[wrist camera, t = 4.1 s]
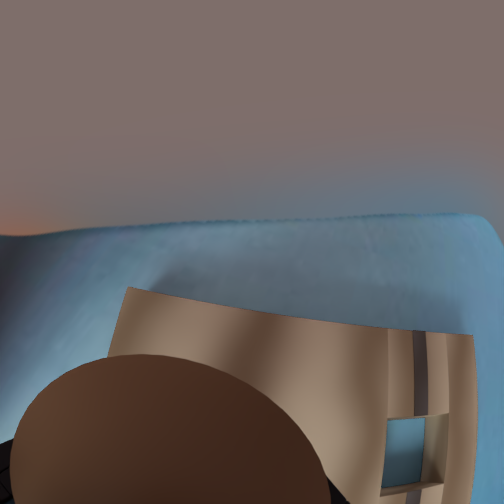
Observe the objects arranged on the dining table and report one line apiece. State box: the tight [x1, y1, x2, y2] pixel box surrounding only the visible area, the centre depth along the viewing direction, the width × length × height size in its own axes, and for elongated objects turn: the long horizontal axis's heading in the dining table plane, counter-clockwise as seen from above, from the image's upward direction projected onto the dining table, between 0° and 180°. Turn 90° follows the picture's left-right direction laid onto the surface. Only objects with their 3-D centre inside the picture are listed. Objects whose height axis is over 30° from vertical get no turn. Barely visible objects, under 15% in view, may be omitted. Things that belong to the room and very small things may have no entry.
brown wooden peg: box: [10, 354, 331, 504], centre depth 7 cm, size 4×4×11 cm
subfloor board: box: [107, 287, 478, 504], centre depth 13 cm, size 22×15×3 cm
